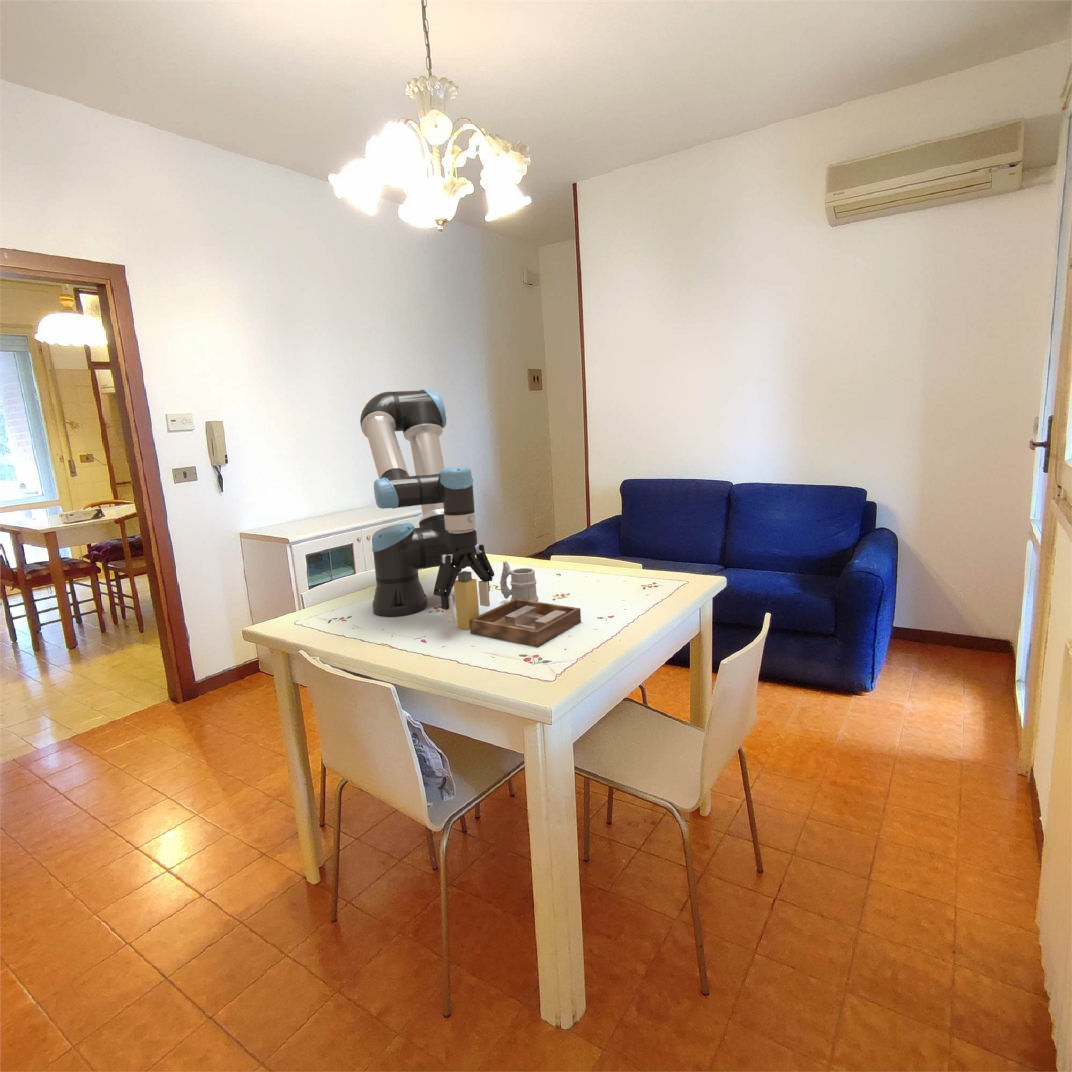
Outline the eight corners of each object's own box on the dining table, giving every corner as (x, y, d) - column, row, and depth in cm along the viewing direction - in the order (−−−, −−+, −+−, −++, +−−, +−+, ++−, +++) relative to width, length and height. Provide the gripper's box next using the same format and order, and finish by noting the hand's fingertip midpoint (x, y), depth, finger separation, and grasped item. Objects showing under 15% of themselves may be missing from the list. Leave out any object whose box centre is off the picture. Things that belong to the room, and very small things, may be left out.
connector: (457, 627, 157) (453, 573, 154) (468, 622, 160) (463, 569, 157) (469, 629, 155) (465, 575, 152) (480, 624, 158) (475, 571, 155)
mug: (528, 611, 166) (525, 567, 164) (493, 605, 173) (490, 563, 171) (544, 603, 172) (541, 561, 170) (510, 598, 179) (507, 557, 177)
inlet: (505, 629, 152) (504, 615, 151) (527, 618, 159) (526, 605, 158) (545, 636, 145) (545, 622, 144) (566, 625, 152) (565, 611, 151)
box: (470, 633, 152) (469, 619, 151) (516, 611, 167) (516, 598, 166) (537, 647, 140) (536, 632, 140) (581, 621, 156) (580, 608, 155)
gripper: (436, 541, 140) (444, 630, 144) (504, 522, 160) (509, 601, 164) (412, 539, 145) (421, 626, 149) (481, 520, 165) (487, 598, 169)
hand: (467, 613), depth 157 cm, fingers open, 13 cm apart
